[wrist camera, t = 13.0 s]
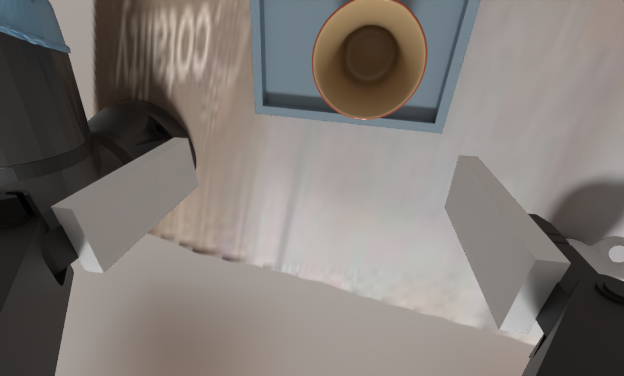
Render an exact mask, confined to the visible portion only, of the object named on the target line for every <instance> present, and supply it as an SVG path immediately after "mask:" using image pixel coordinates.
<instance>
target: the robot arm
mask: <svg viewBox="0 0 624 376" xmlns="http://www.w3.org/2000/svg"><path fill="white" fill-rule="evenodd" d="M68 53H71V52H70V48H69V47H68V46H67V45H66V44H65V41H64V39H63V36H62V33H61V30H60V27H59V24H58V21H57V19H56V16H55V13H54V10H53V8H52V5H51V4H50V2H49V1H48V0H0V376H55V371H56V365H57V360H58V355H59V349H60V344H61V339H62V333H63V328H64V322H65V318H66V317H65V316H66V312H67V307H68V301H69V296H70V291H71V285H72V280H73V275H74V272H73V269H72V267H71V265H70V264H71V263H72V262H74V261H75V260H76V259H78V258H79V260H80V262H81V264H82V266H83V267H84V269H85V270H86V271H92V272H99V273H104V272H105V271H107V270H108V269H109V268H110V267H111V266H112V265H113V264H114V263H115V262H116V261H117V260H118V259H119V258H120V257H122V256H123V255H124V254H125V253H126V252H127V251H128V250H129V249H130V248H131V247H132V246H133V245H135V244H136V243H137V242H138V241H139V240H140V239H141V238H142V237H143V236H144V235H145V234H146V233H148V232H149V231H150V230H151V229H152V228H153V227H154V226H155V225H156V224H157V223H158V222H159V221H161V220H162V219H163V218H164V217H165V216H166V215H167V214H168V213H169V212H170V211H171V210H172V209H173V208H175V207H176V206H177V205H178V204H179V203H180V202H181V201H182V200H183V199H184V198H185V197H186V196H188V195H189V194H190V193H191V192H192V191H193V190H194V189H195V188H196V187H197V186H198V181H197V177H196V172H195V168H196V160H195V154H194V150H193V147H192V145H191V142H190V140H189V138H188V136H187V135H186V133H185V132H184V130H183V129H182V127H181V126H180V125H179V124H178V123H177V122H176V121H175V120H174V119H173V118H172V117H171V116H170V115H169V114H168V113H166V112H165V111H164V110H162V109H160V108H159V107H157V106H155V105H153V104H151V103H148V102H145V101H141V100H125V101H121V102H117V103H114V104H110V105H108V106H106V107H104V108H103V109H101V110H100V111H99V112H98V113H97V114H96V115H94V116H93V117H92V118H91V119H90V120H89V121H87V119H86V115H85V112H84V108H83V105H82V101H81V98H80V94H79V90H78V87H77V83H76V80H75V76H74V73H73V70H72V66H71V62H70V58H69V55H68ZM445 209H446V211H447V213H448V216H449V218H450V220H451V223H452V225H453V227H454V229H455V232H456V234H457V236H458V238H459V241H460V243H461V245H462V247H463V250H464V252H465V254H466V256H467V259H468V261H469V263H470V265H471V268H472V270H473V272H474V274H475V277H476V279H477V281H478V284H479V286H480V288H481V290H482V293H483V295H484V297H485V299H486V302H487V304H488V306H489V308H490V311H491V313H492V315H493V317H494V320H495V322H496V324H497V326H498V329H499V330H503V331H510V332H517V333H524V334H528V333H529V331H530V330H531V328H532V326H533V325H534V323H535V321H537V322H538V324H539V326H540V327H541V329H542V331H543V332H544V334H543V336H542V337H541V339H540V340H539V342H538V344H537V345H536V347H535V348H534V350H533V352H532V353H531V354H530V356H529V358H530V360H529V362H528V364H527V366H526V369H525V370H524V372H523V374H522V376H624V281H622V280H620V279H617V278H614V277H611V276H608V275H604V274H599V273H598V272H597V271H596V270H595V269H594V268H593V267H592V266H591V265H590V264H589V263H588V262H587V261H586V260H585V259H584V258H583V257H582V256H581V255H580V253H579V252H578V251H577V250H576V249H575V248H574V247H573V246H572V245H569V242H568V241H567V240H566V239H565V238H564V237H563V236H561V234H560V232H559V231H558V230H557V229H556V228H555V227H554V226H553V225H552V224H551V223H549V222H547V221H546V220H544V219H543V218H541V217H540V216H538V215H536V214H527V212H526V211H525V210H524V209H523V208H522V207H521V206H520V205H519V203H518V202H517V201H516V200H515V199H514V198H513V197H512V195H511V194H510V193H509V192H508V191H507V190H506V189H505V187H504V186H503V185H502V184H501V183H500V182H499V181H498V179H497V178H496V177H495V176H494V175H493V174H492V173H491V171H490V170H489V169H488V168H487V167H486V166H485V165H484V163H483V162H482V161H481V160H480V159H479V158H478V157H476V156H460V155H459V158H458V161H457V165H456V168H455V172H454V176H453V179H452V183H451V186H450V190H449V194H448V197H447V201H446V204H445Z"/></svg>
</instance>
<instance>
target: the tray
mask: <svg viewBox="0 0 624 376" xmlns="http://www.w3.org/2000/svg"><path fill="white" fill-rule="evenodd" d="M348 1H350V0H250V11H251V33H252V54H253V76H254V97H255V113H257V114H266V115H276V116H285V117H294V118H303V119H312V120H322V121H331V122H340V123H349V124H358V125H368V126H377V127H386V128H395V129H405V130H414V131H423V132H432V133H441V134H442V131H443V127H444V124H445V121H446V117H447V114H448V110H449V107H450V103H451V100H452V97H453V93H454V90H455V86H456V83H457V79H458V76H459V73H460V69H461V66H462V62H463V59H464V55H465V52H466V49H467V45H468V42H469V38H470V35H471V31H472V28H473V24H474V21H475V18H476V14H477V11H478V7H479V4H480V0H398V1H400V2H402V3H404V4H405V5H406V6H407V7H408V8H409V9H410V10H411V11H412V12H413V13H414V15H415V16H416V17H417V19H418V21H419V22H420V24H421V26H422V28H423V31H424V34H425V37H426V42H427V64H426V69H425V73H424V76H423V78H422V81H421V83H420V85H419V87H418V88H417V90H416V91H415V93H414V94H413V96H412V97H411V98H410V99H409V100H408V101H407V102H406V103H405V104H404V105H403V106H402V107H400V108H399V109H398V110H396V111H394V112H393V113H391V114H389V115H386V116H384V117H381V118H377V119H371V120H359V119H353V118H349V117H347V116H344V115H342V114H340V113H338V112H337V111H335V110H334V109H333V108H331V107H330V106H329V105H328V104H327V103H326V102H325V100H324V99H323V98H322V96H321V95H320V93H319V91H318V89H317V87H316V84H315V81H314V78H313V73H312V53H313V47H314V43H315V40H316V38H317V35H318V33H319V31H320V29H321V27H322V26H323V24H324V23H325V21H326V20H327V19H328V18H329V17H330V15H331V14H332V13H333V12H334V11H336V10H337V9H338V8H339V7H341V6H342V5H344V4H345V3H347V2H348Z"/></svg>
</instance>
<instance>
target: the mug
mask: <svg viewBox="0 0 624 376" xmlns="http://www.w3.org/2000/svg"><path fill="white" fill-rule="evenodd" d="M426 64H427V42H426V37H425V34H424V31H423V28H422V26H421V24H420V22H419V21H418V19H417V17H416V16H415V15H414V13H413V12H412V11H411V10H410V9H409V8H408V7H407V6H406V5H405V4H404V3H402V2H400V1H398V0H350V1H348V2H347V3H345V4H344V5H342V6H341V7H339V8H338V9H337V10H336V11H334V12H333V13H332V14H331V15H330V17H329V18H328V19H327V20H326V21H325V23H324V24H323V26H322V27H321V29H320V31H319V33H318V35H317V38H316V40H315V43H314V47H313V53H312V73H313V78H314V81H315V84H316V87H317V89H318V91H319V93H320V95H321V96H322V98H323V99H324V100H325V102H326V103H327V104H328V105H329V106H330V107H331V108H333V109H334V110H335V111H337V112H338V113H340V114H342V115H344V116H347V117H349V118H353V119H359V120H371V119H377V118H381V117H384V116H386V115H389V114H391V113H393V112H394V111H396V110H398V109H399V108H400V107H402V106H403V105H404V104H405V103H406V102H407V101H408V100H409V99H410V98H411V97H412V96H413V94H414V93H415V91H416V90H417V88H418V87H419V85H420V83H421V81H422V78H423V76H424V73H425V69H426Z"/></svg>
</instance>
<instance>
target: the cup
mask: <svg viewBox="0 0 624 376" xmlns="http://www.w3.org/2000/svg"><path fill="white" fill-rule="evenodd" d="M565 239H566V240H567V241H568V242H569V245H572V246H573V247H574V248H575V249H576V250H577V251H578V252H579V253H580V255H581V256H582V257H583V258H584V259H585V260H586V261H587V262H588V263H589V264H590V265H591V266H592V267H593V268H594V269H595V270H596V271H597V272H598V273H599V274H604V275H608V276H611V277H614V278H617V279H620V280H622V281H624V262H621V263H617V262H613V261H612V260H611V259H610V257H609V255H608V252H609V250H610V249H611V248H612V247H614V246H617V245H621V246H624V238H623V237H618V236H611V237H607V238H604V239H602V240H601V241H599V242H597V243H596V244H594V245H586V244H585V243H583V242H581V241H578V240H575V239H569V238H565Z"/></svg>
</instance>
